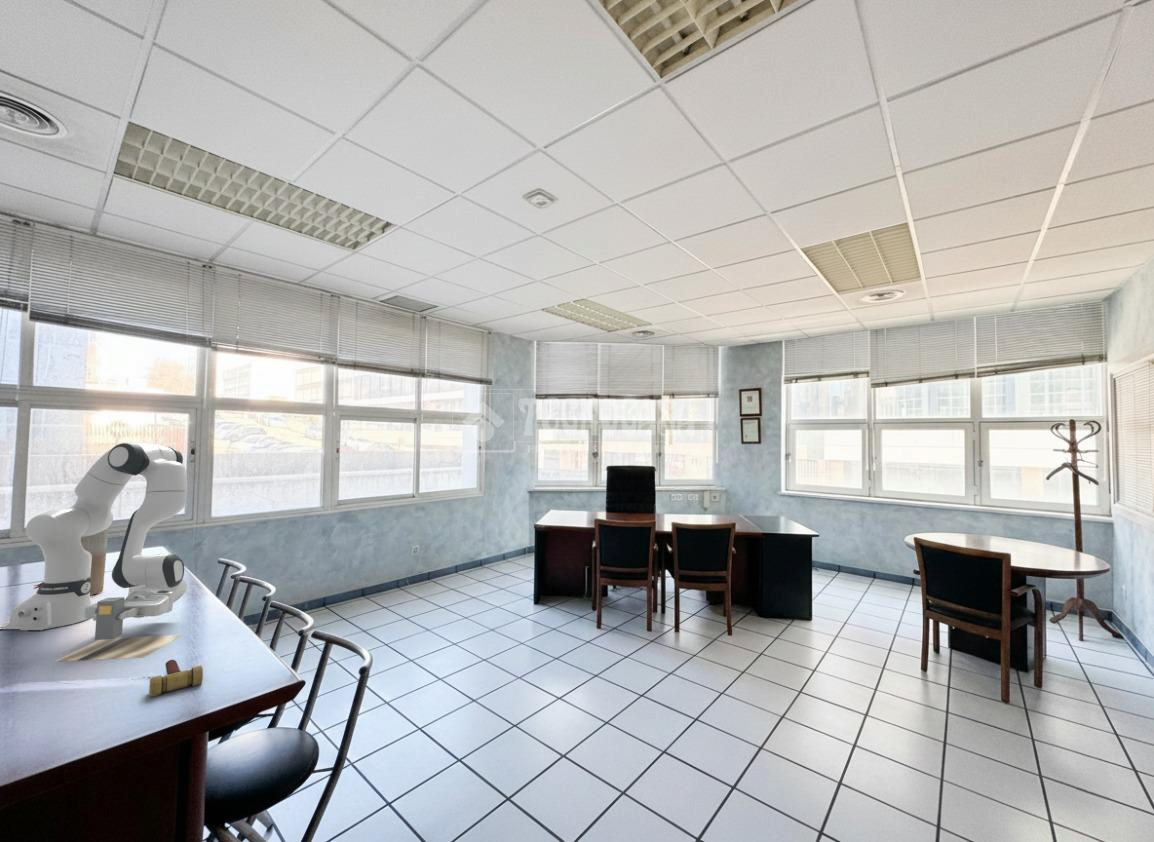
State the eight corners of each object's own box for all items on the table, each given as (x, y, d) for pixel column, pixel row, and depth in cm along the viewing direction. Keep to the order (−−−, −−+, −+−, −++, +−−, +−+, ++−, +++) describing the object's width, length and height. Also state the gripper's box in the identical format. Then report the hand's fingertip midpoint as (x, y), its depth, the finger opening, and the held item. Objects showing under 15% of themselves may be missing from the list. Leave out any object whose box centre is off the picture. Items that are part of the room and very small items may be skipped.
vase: (83, 590, 195) (89, 523, 196) (109, 590, 196) (115, 523, 197) (60, 598, 185) (66, 527, 187) (87, 597, 186) (93, 527, 188)
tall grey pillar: (93, 640, 135) (96, 601, 136) (104, 635, 139) (107, 597, 140) (111, 639, 136) (114, 601, 137) (121, 634, 140) (124, 597, 141)
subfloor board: (53, 666, 128) (53, 661, 129) (102, 643, 144) (102, 638, 144) (143, 662, 132) (143, 657, 132) (181, 639, 148) (182, 635, 148)
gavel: (146, 658, 128) (192, 648, 135) (144, 676, 128) (191, 664, 135) (151, 680, 114) (203, 667, 121) (150, 700, 113) (202, 686, 120)
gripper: (107, 593, 149) (67, 608, 136) (178, 591, 153) (146, 605, 139) (105, 613, 149) (65, 630, 135) (177, 610, 152) (145, 626, 139)
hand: (107, 617), depth 137 cm, fingers closed on tall grey pillar, 4 cm apart
